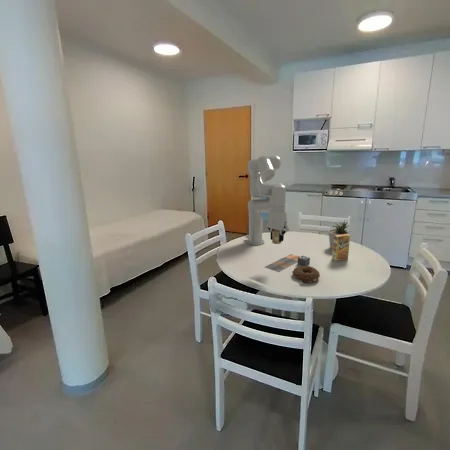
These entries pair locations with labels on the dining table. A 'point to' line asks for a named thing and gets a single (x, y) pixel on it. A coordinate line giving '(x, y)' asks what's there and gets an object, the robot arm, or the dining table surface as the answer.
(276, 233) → the pawn
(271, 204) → the robot arm
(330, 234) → the potted plant
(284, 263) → the board
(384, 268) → the dining table surface
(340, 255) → the candy box
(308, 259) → the die
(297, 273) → the donut
